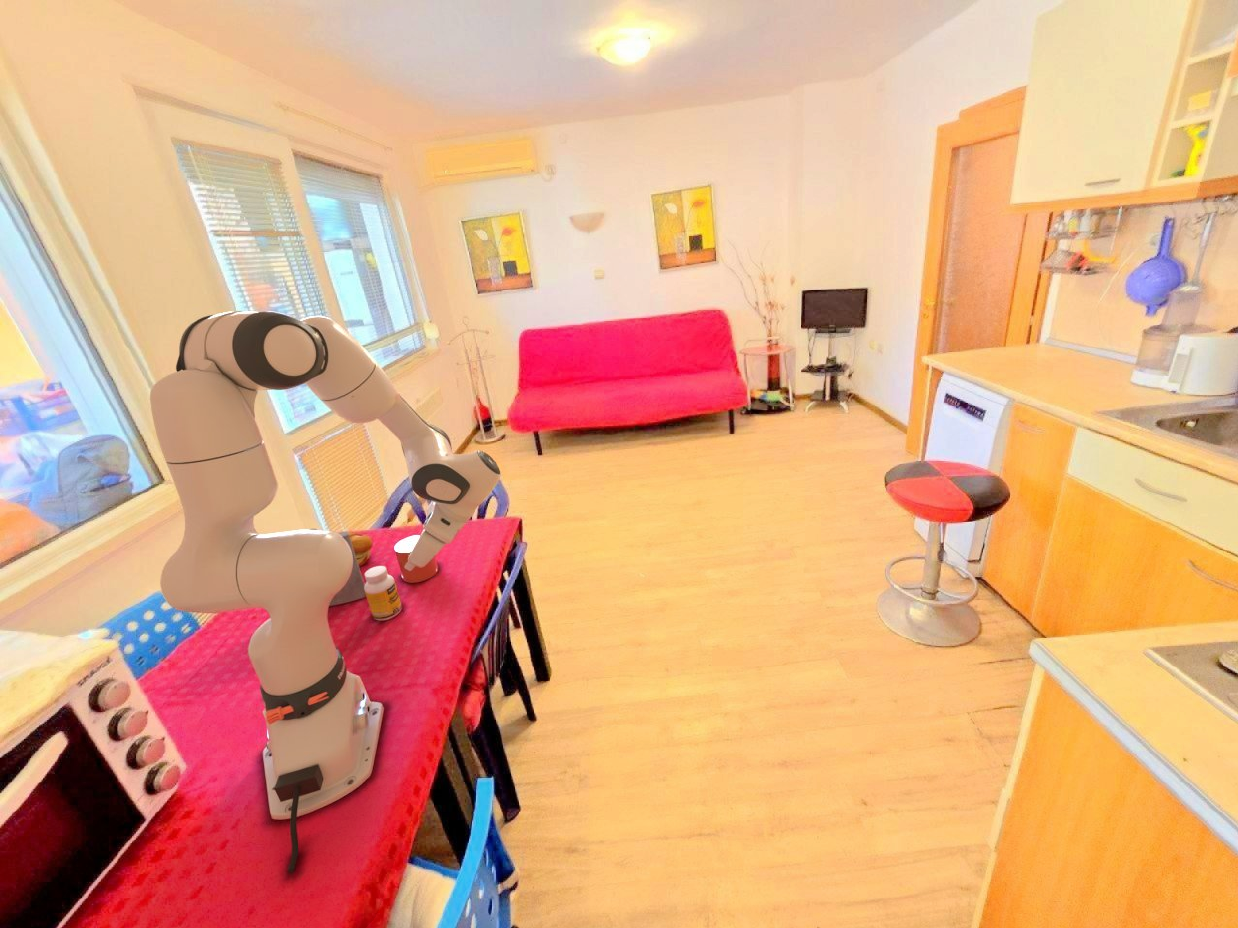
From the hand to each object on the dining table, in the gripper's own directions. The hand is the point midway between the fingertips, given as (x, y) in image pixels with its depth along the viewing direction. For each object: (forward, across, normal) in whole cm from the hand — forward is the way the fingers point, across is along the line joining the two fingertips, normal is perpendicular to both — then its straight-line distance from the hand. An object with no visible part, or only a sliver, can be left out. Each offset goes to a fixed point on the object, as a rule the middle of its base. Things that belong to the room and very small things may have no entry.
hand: (414, 556), depth 115 cm
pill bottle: (+17, 0, +4) cm, 17 cm away
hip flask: (+28, -8, -8) cm, 30 cm away
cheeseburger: (+29, -26, -9) cm, 40 cm away
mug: (+15, -17, +6) cm, 23 cm away
